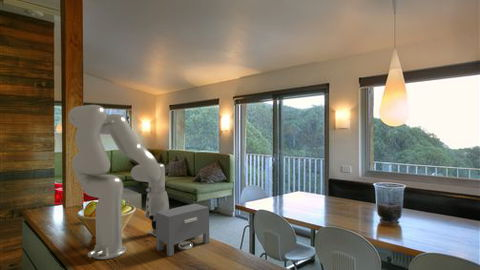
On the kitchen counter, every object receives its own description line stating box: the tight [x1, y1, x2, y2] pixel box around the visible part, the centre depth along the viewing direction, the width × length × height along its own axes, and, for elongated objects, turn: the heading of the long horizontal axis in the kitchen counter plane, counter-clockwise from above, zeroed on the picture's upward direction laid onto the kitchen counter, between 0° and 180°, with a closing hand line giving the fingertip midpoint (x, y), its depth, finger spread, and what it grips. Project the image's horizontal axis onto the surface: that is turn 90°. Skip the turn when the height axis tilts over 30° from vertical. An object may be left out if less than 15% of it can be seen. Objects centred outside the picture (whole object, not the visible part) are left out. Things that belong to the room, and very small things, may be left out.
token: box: [178, 240, 194, 251], centre depth 127 cm, size 6×6×2 cm
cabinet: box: [155, 203, 210, 257], centre depth 127 cm, size 20×11×16 cm, turn 135°
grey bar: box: [147, 228, 186, 246], centre depth 138 cm, size 5×23×9 cm, turn 45°
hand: (157, 227), depth 143 cm, fingers closed on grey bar, 2 cm apart
